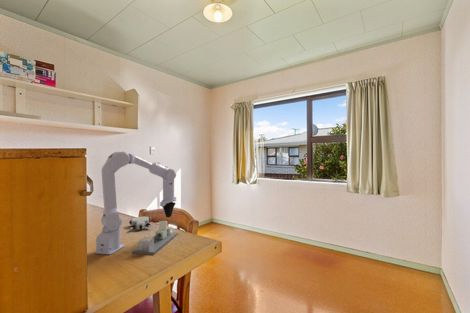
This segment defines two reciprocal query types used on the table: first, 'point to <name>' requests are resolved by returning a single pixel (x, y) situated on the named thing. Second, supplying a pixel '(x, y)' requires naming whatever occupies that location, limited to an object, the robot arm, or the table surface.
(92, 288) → the table surface
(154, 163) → the robot arm
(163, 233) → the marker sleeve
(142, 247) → the connector
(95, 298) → the table surface
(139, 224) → the robot toy
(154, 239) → the dark grey bar
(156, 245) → the board
